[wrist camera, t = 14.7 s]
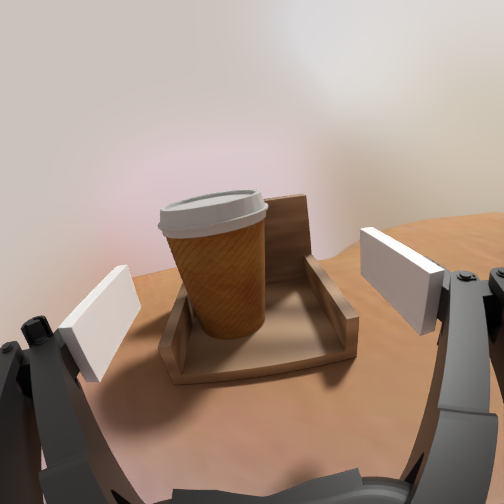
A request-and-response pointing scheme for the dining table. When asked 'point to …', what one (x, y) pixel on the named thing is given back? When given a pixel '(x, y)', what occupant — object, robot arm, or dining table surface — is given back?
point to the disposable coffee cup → (221, 258)
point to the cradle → (270, 314)
